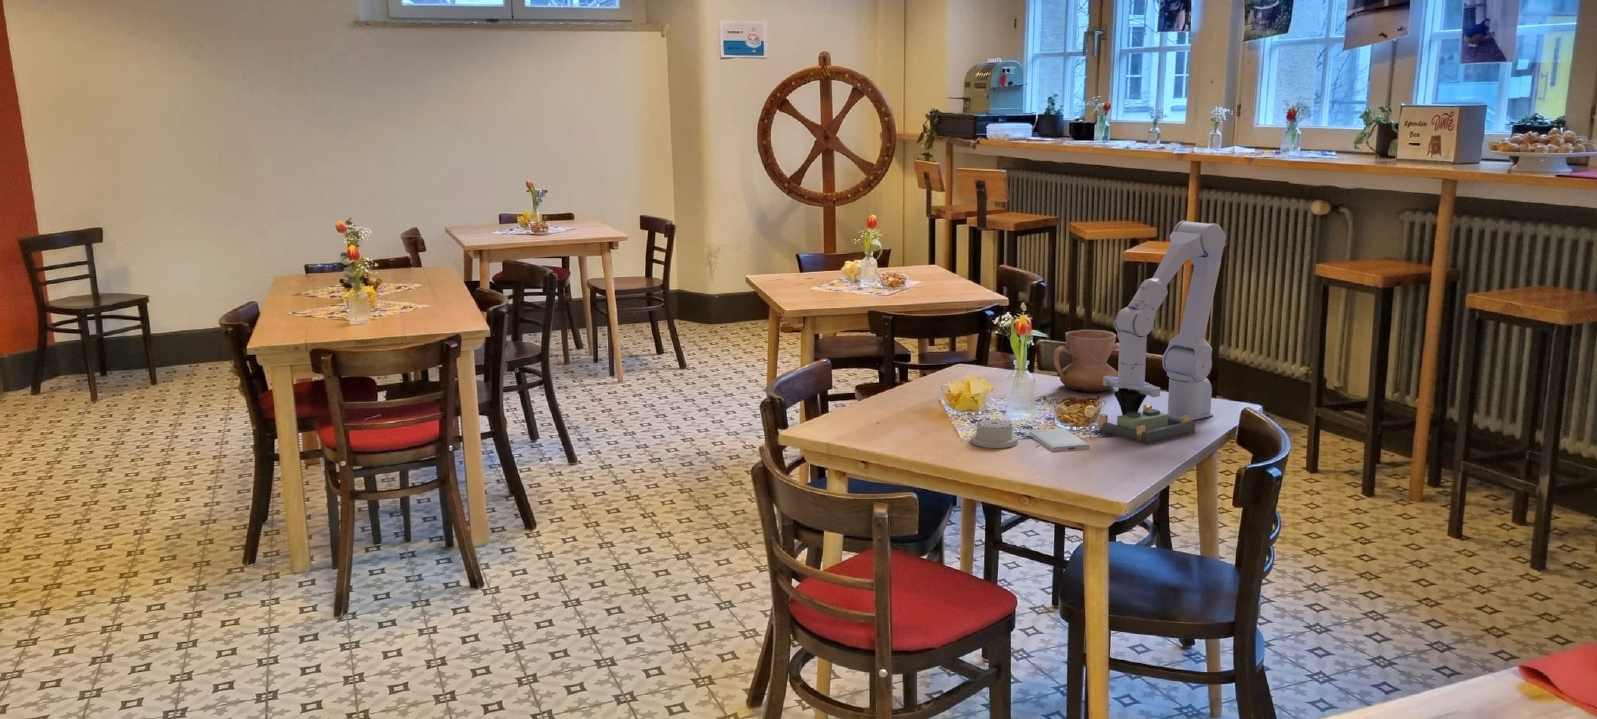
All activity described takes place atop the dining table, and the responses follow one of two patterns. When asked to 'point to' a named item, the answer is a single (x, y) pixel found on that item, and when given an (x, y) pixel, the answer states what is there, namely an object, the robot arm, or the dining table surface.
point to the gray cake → (994, 434)
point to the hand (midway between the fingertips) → (1129, 422)
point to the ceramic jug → (1087, 359)
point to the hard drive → (1059, 440)
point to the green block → (1143, 419)
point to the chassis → (1151, 436)
